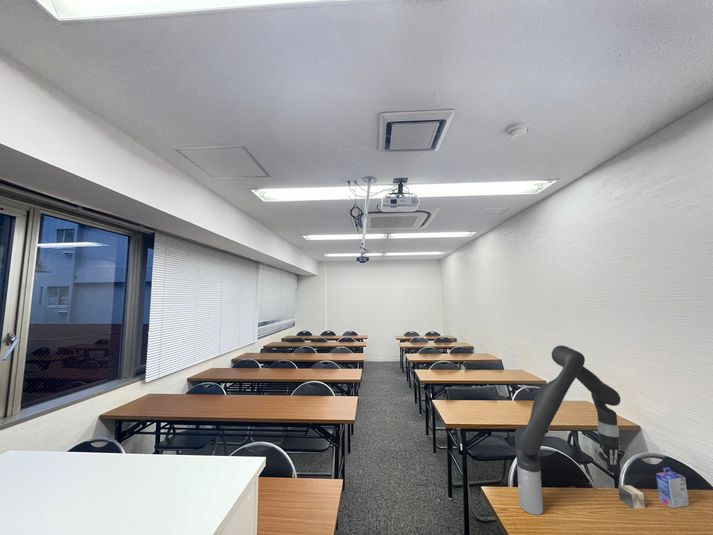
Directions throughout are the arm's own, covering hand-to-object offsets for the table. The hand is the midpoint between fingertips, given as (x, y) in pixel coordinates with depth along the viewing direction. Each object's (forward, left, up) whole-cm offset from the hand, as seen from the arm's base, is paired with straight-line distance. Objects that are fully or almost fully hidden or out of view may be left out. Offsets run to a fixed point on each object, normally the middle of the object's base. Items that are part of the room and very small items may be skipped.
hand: (611, 472), depth 135 cm
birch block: (+5, +2, -11) cm, 12 cm away
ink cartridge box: (+25, +13, -14) cm, 31 cm away
